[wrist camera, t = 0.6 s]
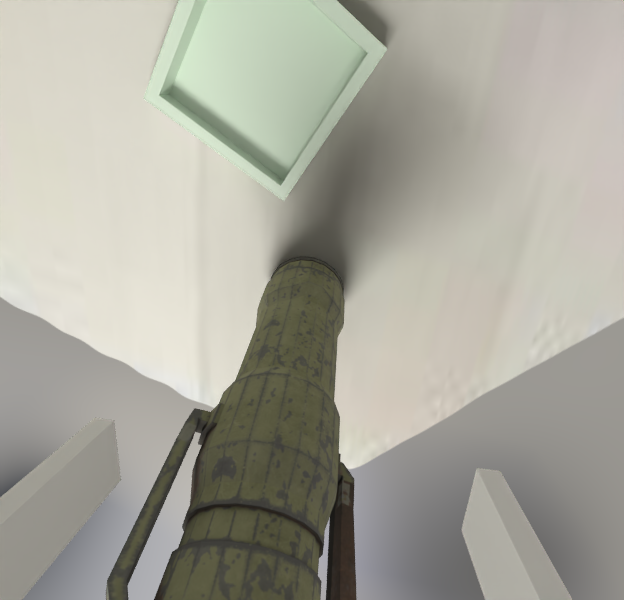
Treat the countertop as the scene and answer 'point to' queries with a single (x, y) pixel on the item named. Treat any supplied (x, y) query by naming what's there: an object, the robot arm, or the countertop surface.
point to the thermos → (264, 464)
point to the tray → (262, 79)
